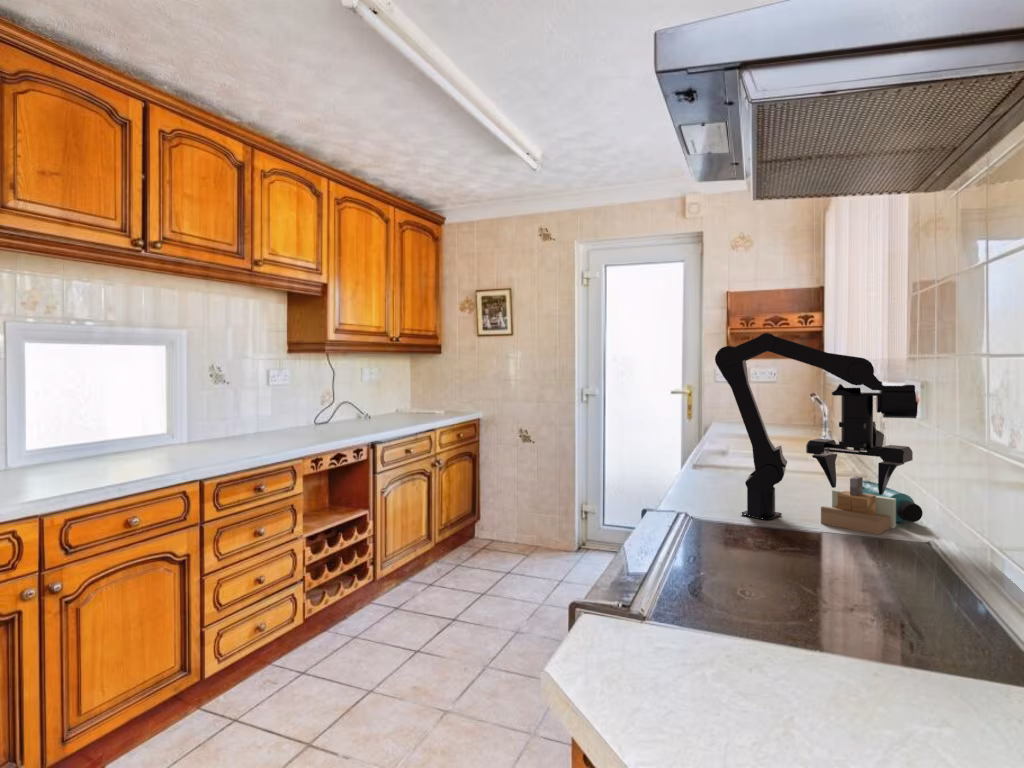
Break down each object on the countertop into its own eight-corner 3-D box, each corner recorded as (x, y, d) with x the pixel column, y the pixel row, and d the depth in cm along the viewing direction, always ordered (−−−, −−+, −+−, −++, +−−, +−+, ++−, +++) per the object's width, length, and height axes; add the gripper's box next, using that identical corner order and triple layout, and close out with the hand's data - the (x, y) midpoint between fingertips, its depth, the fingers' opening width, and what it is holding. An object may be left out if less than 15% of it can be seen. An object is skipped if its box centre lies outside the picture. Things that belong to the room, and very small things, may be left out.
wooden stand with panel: (880, 535, 116) (880, 505, 116) (818, 522, 126) (818, 494, 126) (895, 527, 121) (896, 498, 121) (835, 516, 131) (835, 489, 131)
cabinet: (867, 517, 120) (867, 481, 120) (836, 512, 125) (836, 477, 124) (875, 514, 122) (875, 478, 122) (845, 508, 127) (845, 474, 127)
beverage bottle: (880, 490, 140) (937, 511, 120) (860, 511, 140) (915, 535, 120) (859, 472, 140) (913, 490, 120) (840, 493, 140) (891, 514, 120)
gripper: (922, 417, 120) (922, 492, 121) (828, 412, 135) (827, 479, 136) (902, 421, 114) (901, 501, 114) (804, 415, 128) (804, 486, 129)
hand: (856, 490), depth 123 cm, fingers open, 9 cm apart
